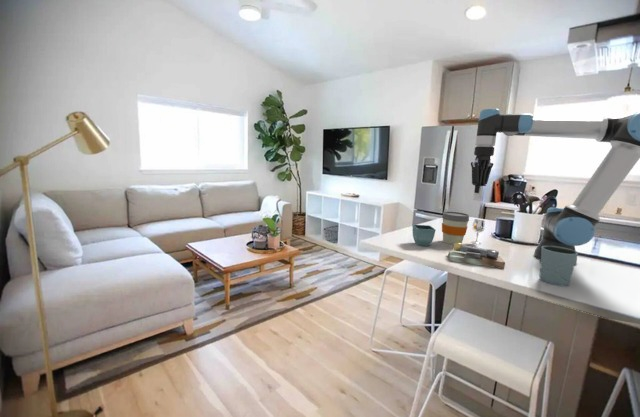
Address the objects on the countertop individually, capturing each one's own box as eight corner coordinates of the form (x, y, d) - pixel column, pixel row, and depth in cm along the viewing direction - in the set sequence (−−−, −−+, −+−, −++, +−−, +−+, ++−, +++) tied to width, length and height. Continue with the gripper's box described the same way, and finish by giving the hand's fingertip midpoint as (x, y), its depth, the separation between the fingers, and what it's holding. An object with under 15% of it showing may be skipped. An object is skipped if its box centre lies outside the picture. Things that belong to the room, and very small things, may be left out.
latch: (452, 250, 129) (453, 243, 129) (454, 248, 133) (455, 241, 132) (497, 259, 121) (499, 251, 120) (498, 256, 125) (499, 249, 124)
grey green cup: (578, 288, 103) (585, 255, 101) (545, 285, 105) (551, 252, 103) (560, 277, 113) (566, 246, 111) (530, 274, 114) (536, 243, 112)
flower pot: (434, 247, 143) (436, 229, 141) (415, 246, 143) (417, 228, 142) (427, 242, 152) (429, 225, 150) (410, 241, 152) (412, 224, 150)
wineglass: (484, 245, 152) (487, 222, 150) (471, 243, 153) (475, 220, 151) (480, 242, 158) (483, 219, 156) (468, 240, 159) (471, 218, 157)
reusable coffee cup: (434, 239, 159) (437, 211, 156) (454, 238, 162) (458, 211, 159) (449, 246, 147) (453, 216, 144) (471, 245, 150) (475, 216, 147)
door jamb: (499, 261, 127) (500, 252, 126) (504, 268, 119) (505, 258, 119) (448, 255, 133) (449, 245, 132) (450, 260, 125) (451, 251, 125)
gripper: (485, 147, 136) (478, 198, 140) (467, 145, 130) (460, 199, 134) (502, 147, 130) (494, 201, 134) (483, 145, 124) (475, 202, 128)
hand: (477, 200), depth 134 cm, fingers closed
